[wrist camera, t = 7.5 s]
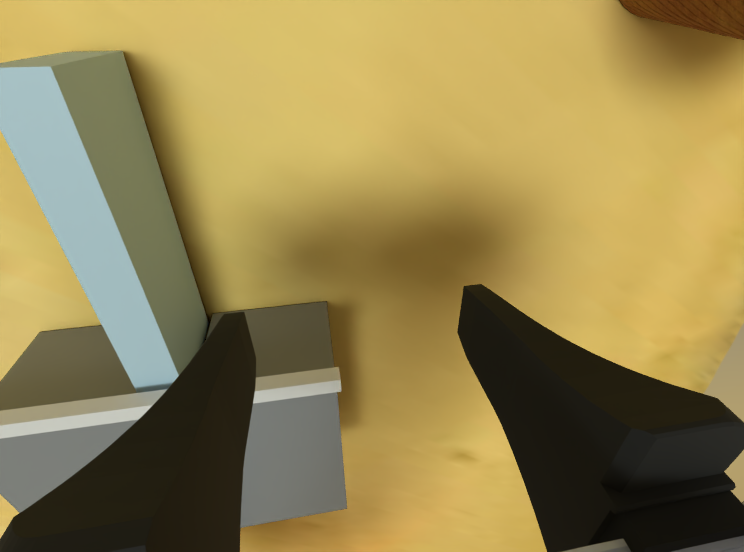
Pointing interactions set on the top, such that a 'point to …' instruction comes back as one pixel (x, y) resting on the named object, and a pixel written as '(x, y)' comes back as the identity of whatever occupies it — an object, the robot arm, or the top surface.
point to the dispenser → (125, 406)
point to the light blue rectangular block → (106, 204)
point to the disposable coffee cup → (694, 14)
